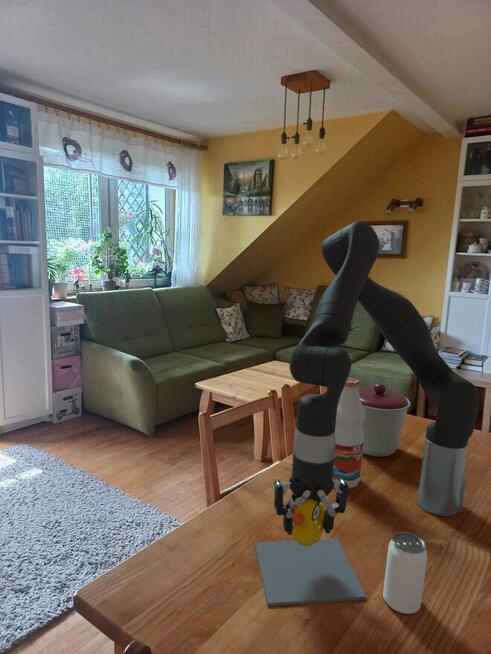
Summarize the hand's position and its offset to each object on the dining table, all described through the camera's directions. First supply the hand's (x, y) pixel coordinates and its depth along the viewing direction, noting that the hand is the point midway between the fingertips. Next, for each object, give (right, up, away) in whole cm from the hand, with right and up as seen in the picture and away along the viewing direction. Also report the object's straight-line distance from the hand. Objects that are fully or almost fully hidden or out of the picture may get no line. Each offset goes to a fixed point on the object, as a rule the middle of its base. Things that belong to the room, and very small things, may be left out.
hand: (307, 531), depth 88 cm
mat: (0, -8, +1) cm, 8 cm away
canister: (+27, +1, +53) cm, 60 cm away
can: (+16, -10, -5) cm, 20 cm away
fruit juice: (+14, -2, +35) cm, 37 cm away
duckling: (0, -3, +1) cm, 3 cm away
